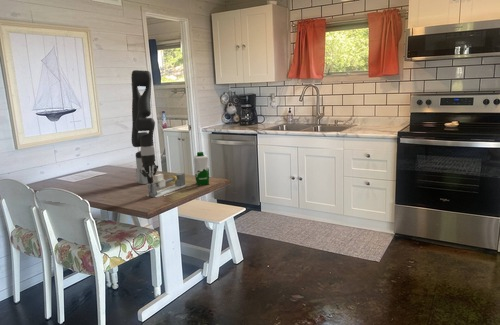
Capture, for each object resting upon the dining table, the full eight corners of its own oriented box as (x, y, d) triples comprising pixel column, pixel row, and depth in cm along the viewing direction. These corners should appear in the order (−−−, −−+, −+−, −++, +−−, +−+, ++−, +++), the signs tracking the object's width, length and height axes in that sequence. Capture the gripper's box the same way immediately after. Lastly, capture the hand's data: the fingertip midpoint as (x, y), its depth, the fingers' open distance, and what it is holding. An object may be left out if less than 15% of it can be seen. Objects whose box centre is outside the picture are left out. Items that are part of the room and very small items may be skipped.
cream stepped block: (159, 189, 227) (158, 176, 225) (153, 188, 229) (152, 175, 227) (165, 187, 231) (164, 174, 229) (159, 186, 233) (158, 173, 232)
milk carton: (208, 181, 255) (206, 151, 250) (210, 184, 246) (208, 153, 242) (194, 182, 252) (192, 152, 248) (196, 186, 244) (194, 154, 240)
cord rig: (157, 197, 223) (155, 184, 221) (146, 196, 227) (145, 182, 225) (187, 186, 245) (186, 173, 244) (177, 184, 249) (176, 172, 248)
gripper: (151, 151, 227) (153, 180, 231) (134, 155, 216) (137, 185, 219) (161, 152, 223) (163, 181, 227) (144, 156, 212) (146, 187, 216)
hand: (150, 183), depth 223 cm, fingers closed
